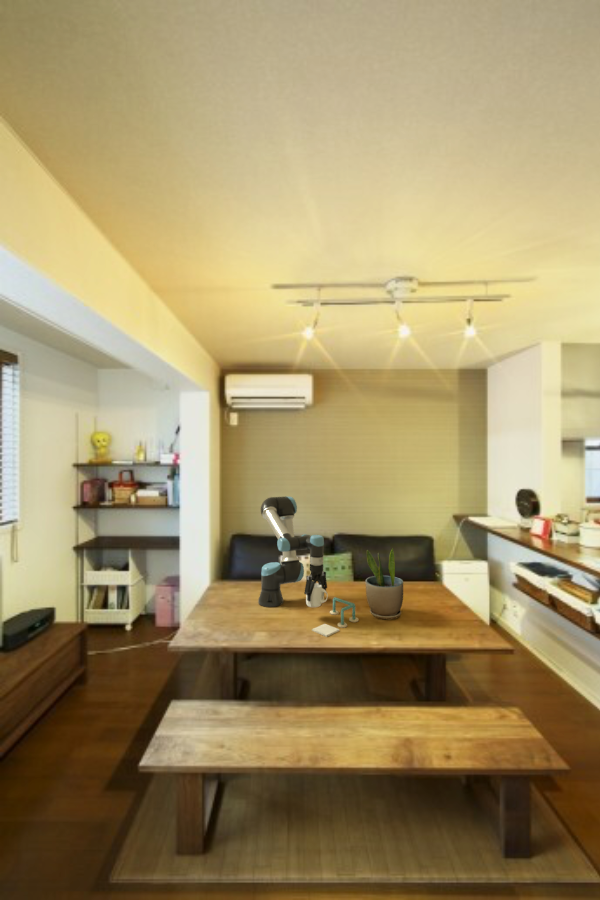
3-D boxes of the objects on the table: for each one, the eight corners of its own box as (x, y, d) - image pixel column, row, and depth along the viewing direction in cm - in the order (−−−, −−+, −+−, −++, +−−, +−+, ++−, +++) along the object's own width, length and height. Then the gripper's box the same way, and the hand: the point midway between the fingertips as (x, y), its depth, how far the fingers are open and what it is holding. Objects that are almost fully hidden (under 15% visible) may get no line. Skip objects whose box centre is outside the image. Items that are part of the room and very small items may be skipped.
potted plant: (357, 615, 230) (358, 544, 231) (378, 604, 246) (378, 538, 246) (390, 625, 216) (391, 550, 216) (410, 614, 232) (410, 543, 232)
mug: (326, 608, 221) (327, 589, 221) (305, 607, 223) (305, 587, 222) (328, 602, 229) (328, 583, 229) (307, 601, 231) (307, 582, 231)
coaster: (311, 630, 209) (311, 629, 209) (324, 625, 216) (324, 623, 216) (326, 636, 202) (326, 635, 202) (339, 630, 209) (339, 629, 209)
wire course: (316, 618, 225) (316, 601, 225) (333, 610, 236) (333, 595, 236) (342, 628, 212) (343, 611, 212) (360, 620, 222) (360, 603, 222)
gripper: (308, 569, 215) (307, 611, 215) (334, 561, 230) (333, 601, 230) (298, 566, 220) (297, 607, 220) (324, 558, 235) (323, 597, 235)
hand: (315, 604), depth 225 cm, fingers closed on mug, 9 cm apart
